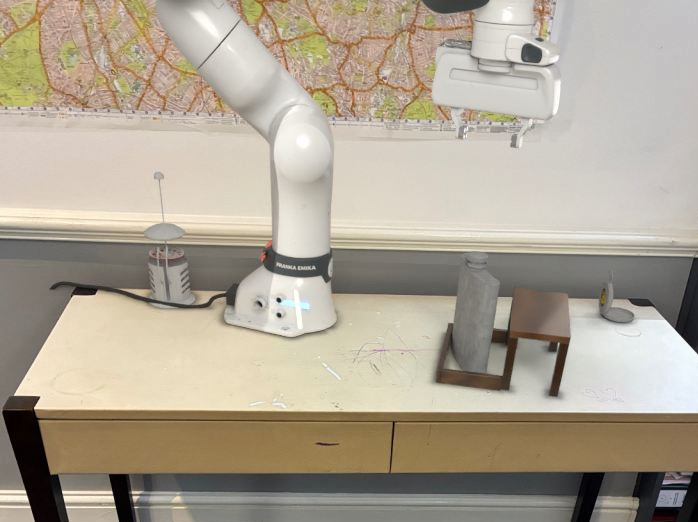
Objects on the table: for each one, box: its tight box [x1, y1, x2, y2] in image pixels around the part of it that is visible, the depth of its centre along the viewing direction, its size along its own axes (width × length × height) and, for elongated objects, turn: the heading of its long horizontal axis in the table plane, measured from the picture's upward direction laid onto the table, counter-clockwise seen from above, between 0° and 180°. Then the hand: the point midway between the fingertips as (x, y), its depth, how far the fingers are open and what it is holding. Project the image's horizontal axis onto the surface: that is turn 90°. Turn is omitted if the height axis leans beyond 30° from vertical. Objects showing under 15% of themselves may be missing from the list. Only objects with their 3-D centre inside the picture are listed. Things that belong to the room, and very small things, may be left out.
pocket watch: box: [598, 269, 636, 323], centre depth 164 cm, size 8×8×10 cm
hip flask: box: [450, 251, 501, 374], centre depth 141 cm, size 16×4×20 cm, turn 9°
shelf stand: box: [435, 287, 572, 398], centre depth 142 cm, size 22×21×11 cm
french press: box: [143, 171, 197, 309], centre depth 154 cm, size 10×12×25 cm
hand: (487, 142), depth 127 cm, fingers open, 8 cm apart
